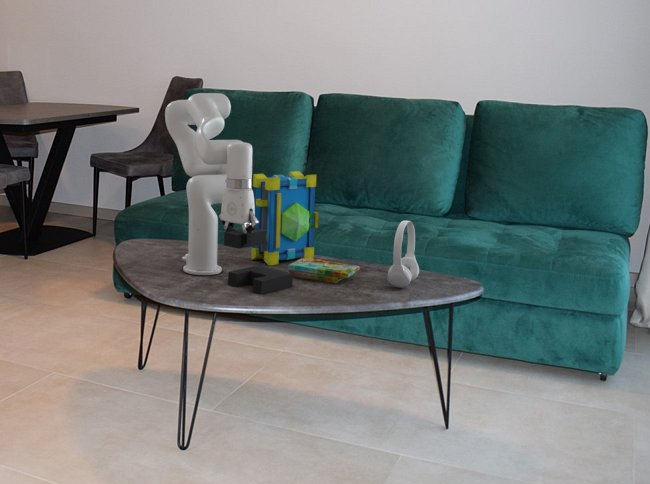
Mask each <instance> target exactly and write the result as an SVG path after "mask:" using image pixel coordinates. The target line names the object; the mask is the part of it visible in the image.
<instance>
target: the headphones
mask: <svg viewBox="0 0 650 484" xmlns="http://www.w3.org/2000/svg"><path fill="white" fill-rule="evenodd" d="M405 229H406V230H407V246H406V253H405V254H404V256H403V257H402V247H403V240H404V239H403V238H404V233H405ZM415 248H416V230H415V226H414V223H413V222H412V221H411V220H402V221H401V222H400V223H399V224H398V226H397V229H396V231H395V236H394V241H393V253H392V254H393V255H392V257H393V258H392V259H393V262H392V264H391V266H390V267H389V268H388V270H387V274H386V280H387V281H388V283H389V284H390V285H391V286H393V287H395V288H398V289H404V288H407V287H408V286H409V285H410V283H411V282H413V281H414V280H416V279H417V278H418V276H419V275H420V267H419V264H418V261H417V260H416V255H415Z"/></svg>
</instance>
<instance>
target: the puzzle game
mask: <svg viewBox="0 0 650 484" xmlns="http://www.w3.org/2000/svg"><path fill="white" fill-rule="evenodd" d="M360 268H361V267H360V266H359V265H354V264H347V263H340V262H335V261H327V260H324V259H322V258H317V259H316V258H315V259H308V258H302V257H300V258H299V259H297V260H295V261H293V262H291V263H289V264H288V265H287V272H288V273H292V274H293V278H299V279H304V280H305V279H307V280H312V281H320V282H325V283H333V284H338V283H339V282H341V281H342V280H343V279H348V278H350V277H352V276H353V275H354V274H356V273H358V272H359V271H360Z"/></svg>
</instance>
